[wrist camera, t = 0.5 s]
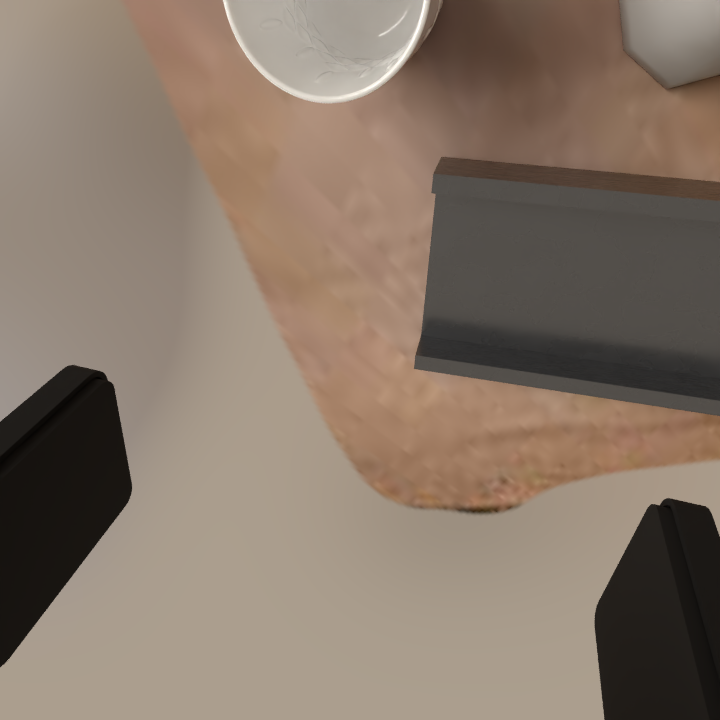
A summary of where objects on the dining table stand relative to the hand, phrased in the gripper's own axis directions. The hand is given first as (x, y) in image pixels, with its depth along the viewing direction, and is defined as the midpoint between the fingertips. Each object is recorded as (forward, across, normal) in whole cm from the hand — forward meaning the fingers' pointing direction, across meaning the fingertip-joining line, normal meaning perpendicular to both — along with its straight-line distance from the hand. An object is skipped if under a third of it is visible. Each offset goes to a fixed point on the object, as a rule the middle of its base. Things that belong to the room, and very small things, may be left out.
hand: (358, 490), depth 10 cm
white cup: (+27, +6, -7) cm, 28 cm away
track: (+27, -9, +6) cm, 29 cm away
